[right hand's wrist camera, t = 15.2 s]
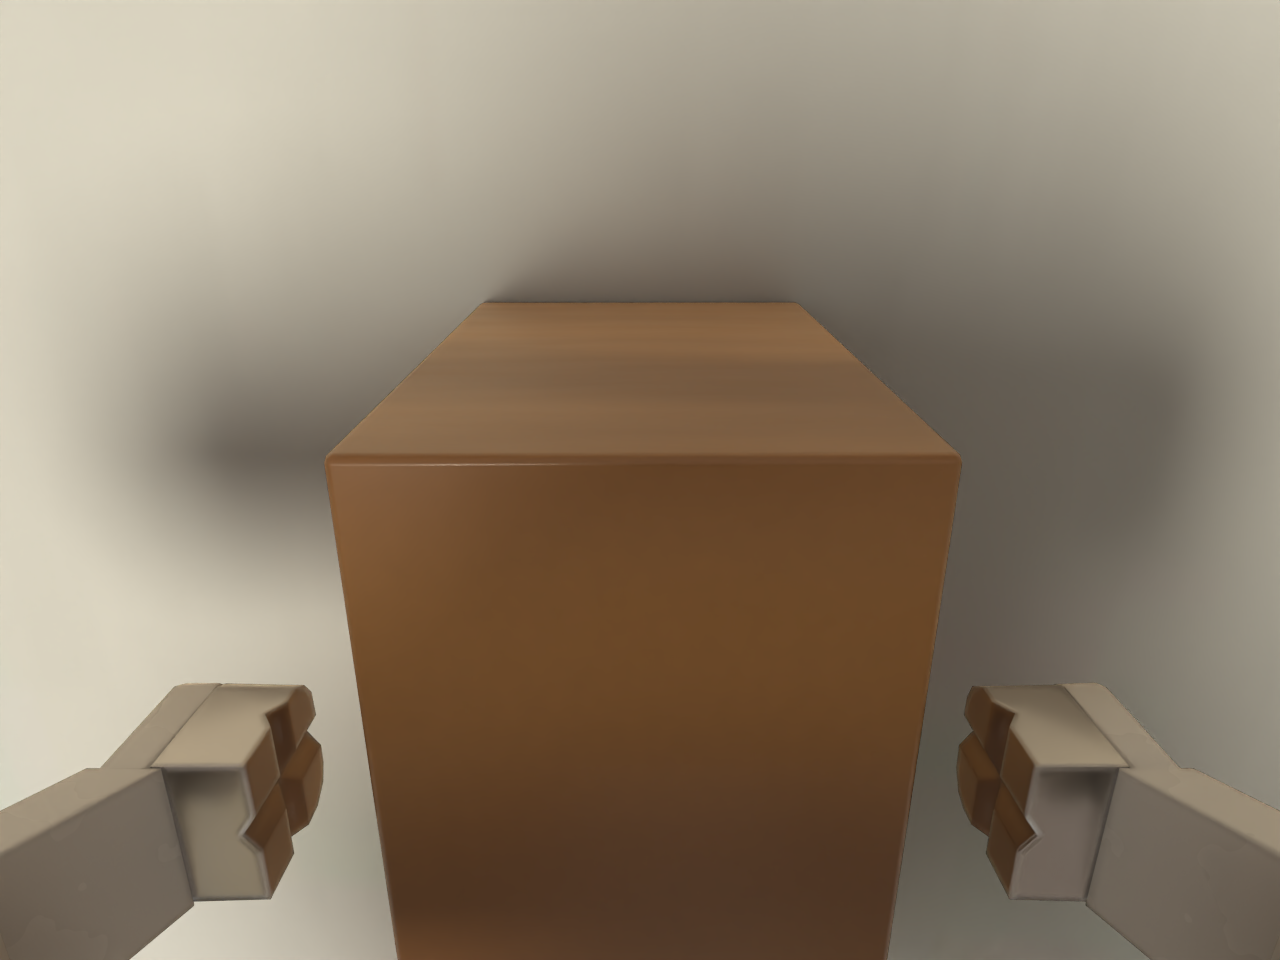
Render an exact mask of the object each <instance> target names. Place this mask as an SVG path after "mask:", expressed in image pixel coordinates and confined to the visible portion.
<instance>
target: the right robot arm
mask: <svg viewBox="0 0 1280 960" xmlns="http://www.w3.org/2000/svg"><path fill="white" fill-rule="evenodd" d="M315 716H316V712H315V707H314V703H313V698H312V693H311V691H310V690H309V689H308V688H307V687H306V686H305V685H276V684H228V683H226V684H220V683H185V684H182V685H178V686H175V687H174V688H173V689H172V690H171V691H170V692H169V693H168V694H167V695H166V696H165V698H164V699H163V700H162V701H161V702H160V703H159V704H158V705H157V706H156V707H155V709H154V710H153V711H152V712H151V713H150V714H149V715H148V716H147V717H146V718H145V719H144V721H143V722H142V723H141V724H140V725H139V726H138V727H137V728H136V729H135V730H134V732H133V733H132V734H131V735H130V736H129V737H128V738H127V739H126V740H125V741H124V743H123V744H122V745H121V746H120V747H119V748H118V749H117V750H116V751H115V752H114V754H113V755H112V756H111V757H110V758H109V759H108V760H107V761H106V762H105V763H104V765H103V766H102V767H101V768H86V769H84V770H82V771H80V772H78V773H76V774H74V775H72V776H70V777H68V778H66V779H64V780H62V781H60V782H58V783H56V784H54V785H52V786H50V787H48V788H46V789H44V790H42V791H40V792H38V793H36V794H34V795H32V796H30V797H28V798H26V799H23V800H21V801H19V802H17V803H15V804H13V805H11V806H9V807H7V808H5V809H3V810H1V811H0V960H129V959H131V958H132V957H133V956H134V955H135V954H137V953H138V952H139V951H140V950H141V949H143V948H144V947H145V946H146V945H147V944H149V943H150V942H151V941H152V940H153V939H155V938H156V937H157V936H158V935H159V934H161V933H162V932H163V931H164V930H165V929H167V928H168V927H169V926H170V925H171V924H173V923H174V922H175V921H176V920H177V919H179V918H180V917H181V916H182V915H183V914H185V913H186V912H187V911H188V910H189V909H191V908H192V907H193V906H194V902H193V901H226V900H261V899H271V897H272V895H273V893H274V892H275V890H276V888H277V886H278V884H279V882H280V880H281V878H282V876H283V874H284V872H285V870H286V868H287V866H288V864H289V862H290V860H291V858H292V856H293V855H294V850H293V844H292V838H291V836H293V835H294V834H296V833H297V832H299V831H300V830H301V829H303V828H304V827H306V826H307V825H309V823H310V821H311V819H312V817H313V814H314V812H315V810H316V808H317V806H318V802H319V798H320V793H321V789H322V784H323V756H322V749H321V745H320V744H319V743H318V742H317V741H316V740H315V739H314V738H313V737H312V736H311V735H310V734H309V733H308V732H307V729H308V728H309V726H310V724H311V722H312V721H313V719H314V717H315ZM964 716H965V717H966V719H967V721H968V722H969V724H970V726H971V728H972V729H973V732H972V733H971V734H970V735H969V736H968V737H967V738H966V739H965V740H964V741H963V742H962V743H961V744H960V745H959V750H958V758H957V766H956V771H957V782H958V792H959V795H960V798H961V802H962V805H963V808H964V810H965V812H966V815H967V817H968V819H969V821H970V823H971V825H973V826H974V827H976V828H977V829H979V830H980V831H981V832H983V833H984V834H986V835H987V836H989V838H988V844H987V850H986V855H987V856H988V858H989V860H990V862H991V864H992V866H993V868H994V870H995V872H996V874H997V876H998V878H999V880H1000V882H1001V884H1002V886H1003V887H1004V889H1005V891H1006V893H1007V895H1008V897H1009V899H1017V900H1053V901H1086V906H1087V907H1089V908H1090V909H1091V910H1092V911H1093V912H1095V913H1096V914H1097V915H1098V916H1099V917H1101V918H1102V919H1103V920H1104V921H1105V922H1107V923H1108V924H1109V925H1110V926H1111V927H1113V928H1114V929H1115V930H1116V931H1117V932H1119V933H1120V934H1121V935H1122V936H1123V937H1125V938H1126V939H1127V940H1128V941H1129V942H1131V943H1132V944H1133V945H1134V946H1135V947H1136V948H1138V949H1139V950H1140V951H1141V952H1142V953H1144V954H1145V955H1146V956H1147V957H1148V958H1150V959H1151V960H1280V811H1279V810H1277V809H1275V808H1273V807H1270V806H1268V805H1266V804H1264V803H1262V802H1260V801H1258V800H1256V799H1254V798H1252V797H1250V796H1248V795H1246V794H1244V793H1242V792H1240V791H1238V790H1236V789H1234V788H1232V787H1230V786H1228V785H1226V784H1224V783H1222V782H1220V781H1218V780H1216V779H1214V778H1212V777H1210V776H1208V775H1206V774H1204V773H1202V772H1200V771H1198V770H1196V769H1194V768H1179V767H1178V766H1177V765H1176V763H1175V762H1174V761H1173V760H1172V759H1171V758H1170V757H1169V756H1168V755H1167V754H1166V752H1165V751H1164V750H1163V749H1162V748H1161V747H1160V746H1159V745H1158V744H1157V743H1156V741H1155V740H1154V739H1153V738H1152V737H1151V736H1150V735H1149V734H1148V733H1147V732H1146V730H1145V729H1144V728H1143V727H1142V726H1141V725H1140V724H1139V723H1138V722H1137V721H1136V719H1135V718H1134V717H1133V716H1132V715H1131V714H1130V713H1129V712H1128V711H1127V710H1126V708H1125V707H1124V706H1123V705H1122V704H1121V703H1120V702H1119V701H1118V700H1117V699H1116V697H1115V696H1114V695H1113V694H1112V693H1111V692H1110V691H1109V690H1108V689H1107V688H1106V687H1104V686H1102V685H1100V684H1098V683H1072V684H1055V685H1016V686H972V688H971V690H970V692H969V694H968V697H967V701H966V706H965V712H964Z"/></svg>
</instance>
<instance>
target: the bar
mask: <svg viewBox="0 0 1280 960" xmlns="http://www.w3.org/2000/svg"><path fill="white" fill-rule="evenodd" d="M324 465H325V472H326V479H327V486H328V492H329V499H330V506H331V513H332V519H333V526H334V533H335V540H336V546H337V553H338V560H339V567H340V573H341V580H342V587H343V594H344V600H345V607H346V614H347V621H348V627H349V634H350V641H351V648H352V655H353V661H354V668H355V675H356V682H357V688H358V695H359V702H360V709H361V715H362V722H363V729H364V736H365V742H366V749H367V756H368V763H369V769H370V776H371V783H372V790H373V796H374V803H375V810H376V817H377V823H378V830H379V837H380V844H381V850H382V857H383V864H384V871H385V878H386V884H387V891H388V898H389V905H390V911H391V918H392V925H393V932H394V938H395V945H396V952H397V959H398V960H887V956H888V949H889V943H890V936H891V929H892V923H893V916H894V910H895V903H896V896H897V890H898V883H899V876H900V870H901V863H902V857H903V850H904V843H905V837H906V830H907V823H908V817H909V810H910V804H911V797H912V790H913V784H914V777H915V771H916V764H917V757H918V751H919V744H920V737H921V731H922V724H923V718H924V711H925V704H926V698H927V691H928V684H929V678H930V671H931V665H932V658H933V651H934V645H935V638H936V631H937V625H938V618H939V612H940V605H941V598H942V592H943V585H944V579H945V572H946V565H947V559H948V552H949V545H950V539H951V532H952V526H953V519H954V512H955V506H956V499H957V492H958V486H959V479H960V473H961V466H962V460H961V456H960V454H959V453H958V452H957V451H956V450H954V449H953V448H952V447H951V446H950V445H949V444H948V443H947V442H946V441H945V440H944V439H943V438H942V437H941V436H939V435H938V434H937V433H936V432H935V431H934V430H933V429H932V428H931V427H930V426H929V425H928V424H927V423H926V422H924V421H923V420H922V419H921V418H920V417H919V416H918V415H917V414H916V413H915V412H914V411H913V410H912V409H911V408H909V407H908V406H907V405H906V404H905V403H904V402H903V401H902V400H901V399H900V398H899V397H898V396H897V395H896V394H894V393H893V392H892V391H891V390H890V389H889V388H888V387H887V386H886V385H885V384H884V383H883V382H882V381H881V380H879V379H878V378H877V377H876V376H875V375H874V374H873V373H872V372H871V371H870V370H869V369H868V368H867V367H866V366H864V365H863V364H862V363H861V362H860V361H859V360H858V359H857V358H856V357H855V356H854V355H853V354H852V353H851V352H849V351H848V350H847V349H846V348H845V347H844V346H843V345H842V344H841V343H840V342H839V341H838V340H837V339H836V338H834V337H833V336H832V335H831V334H830V333H829V332H828V331H827V330H826V329H825V328H824V327H823V326H822V325H821V324H819V323H818V322H817V321H816V320H815V319H814V318H813V317H812V316H811V315H810V314H809V313H808V312H807V311H806V310H805V309H803V308H802V307H801V306H800V305H799V304H797V303H795V302H786V303H482V304H480V305H479V306H478V307H477V308H476V309H475V310H474V311H473V312H472V313H471V314H470V315H469V316H468V317H467V318H466V319H465V320H464V321H463V322H462V323H461V324H460V325H459V326H458V327H457V328H456V329H455V330H454V331H453V332H452V333H451V334H450V335H449V336H448V337H447V338H446V339H445V340H444V341H443V342H442V343H441V344H440V345H439V346H438V347H437V348H436V349H435V350H433V351H432V352H431V353H430V354H429V355H428V356H427V357H426V358H425V359H424V360H423V361H422V362H421V363H420V364H419V365H418V366H417V367H416V368H415V369H414V370H413V371H412V372H411V373H410V374H409V375H408V376H407V377H406V378H405V379H404V380H403V381H402V382H401V383H400V384H399V385H398V386H397V387H396V388H395V389H394V390H393V391H392V392H391V393H390V394H389V395H388V396H387V397H386V398H385V399H384V400H382V401H381V402H380V403H379V404H378V405H377V406H376V407H375V408H374V409H373V410H372V411H371V412H370V413H369V414H368V415H367V416H366V417H365V418H364V419H363V420H362V421H361V422H360V423H359V424H358V425H357V426H356V427H355V428H354V429H353V430H352V431H351V432H350V433H349V434H348V435H347V436H346V437H345V438H344V439H343V440H342V441H341V442H340V443H339V444H338V445H337V446H336V447H335V448H334V449H333V450H331V451H330V452H329V453H328V454H327V455H326V458H325V462H324Z"/></svg>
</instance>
